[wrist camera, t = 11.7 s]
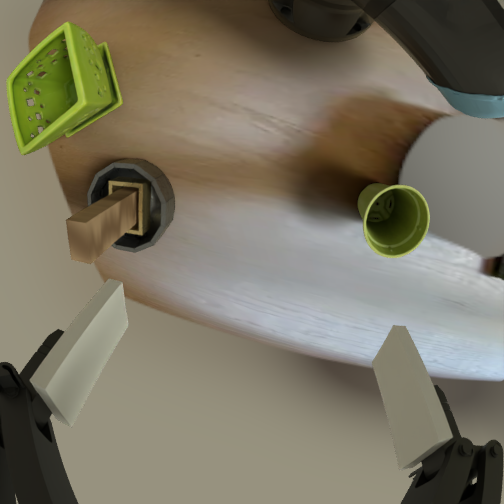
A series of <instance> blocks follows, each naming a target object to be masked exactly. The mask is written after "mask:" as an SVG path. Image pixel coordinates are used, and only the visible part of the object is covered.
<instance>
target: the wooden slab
mask: <svg viewBox="0 0 504 504" xmlns="http://www.w3.org/2000/svg"><path fill="white" fill-rule="evenodd" d="M138 222H139V188H136V187H127V186H125V187H123V188H121V189H119V190H117V191H115V192H113V193H112V194H110V195H108V196H106V197H104V198H102V199H101V200H99V201H97V202H95V203H94V204H92V205H90V206H88V207H87V208H85V209H83V210H82V211H80V212H78V213H76V214H75V215H73V216H72V217H70V218H68V219H67V220H66V224H67V232H68V240H69V246H70V253H71V259H72V260H75V261H79V262H84V263H87V264H91V263H93V262H94V261H95V260H96V259H97V258H98V257H99V256H100V255H101V254H102V253H103V252H104V251H106V250H107V249H108V248H109V247H110V246H111V245H112V244H113V243H114V242H116V241H117V240H118V239H119V238H120V237H121V236H122V235H124V234H125V233H126V232H127V231H128V230H129V229H130V228H132V227H133V226H134V225H135V224H136V223H138Z"/></svg>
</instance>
